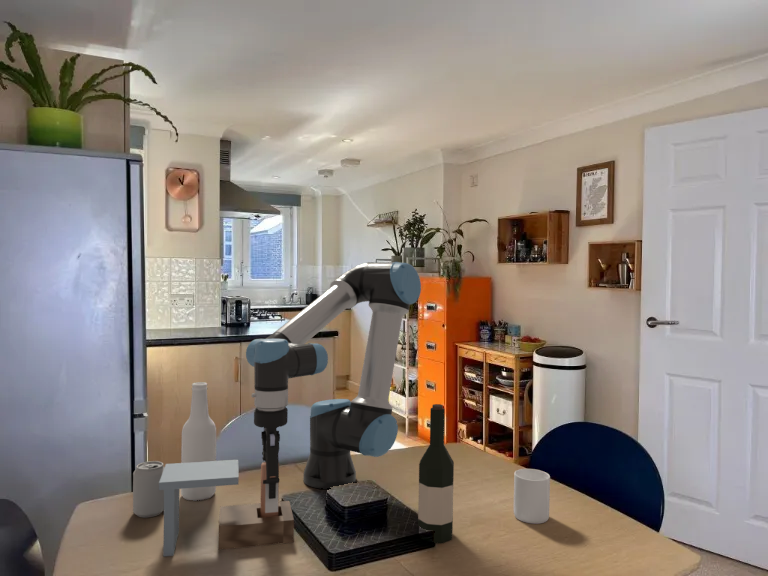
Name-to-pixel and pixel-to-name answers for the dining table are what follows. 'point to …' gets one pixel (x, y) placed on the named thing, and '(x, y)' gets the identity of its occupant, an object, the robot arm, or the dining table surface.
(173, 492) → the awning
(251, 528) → the socket
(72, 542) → the dining table surface
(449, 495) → the wine bottle
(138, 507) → the can
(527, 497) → the mug
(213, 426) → the alcohol
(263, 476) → the peg
